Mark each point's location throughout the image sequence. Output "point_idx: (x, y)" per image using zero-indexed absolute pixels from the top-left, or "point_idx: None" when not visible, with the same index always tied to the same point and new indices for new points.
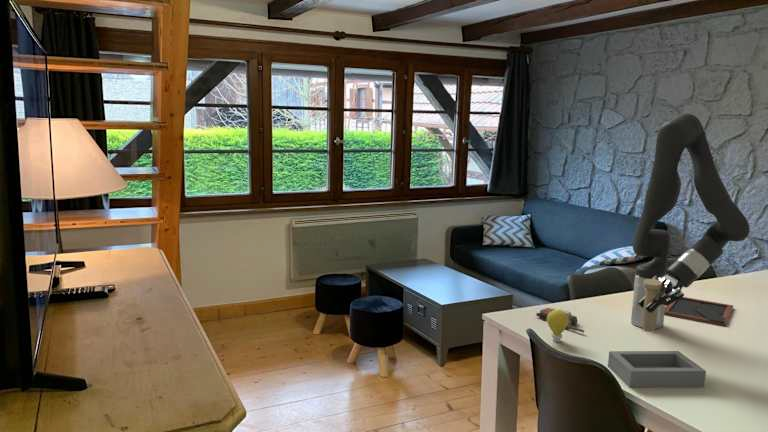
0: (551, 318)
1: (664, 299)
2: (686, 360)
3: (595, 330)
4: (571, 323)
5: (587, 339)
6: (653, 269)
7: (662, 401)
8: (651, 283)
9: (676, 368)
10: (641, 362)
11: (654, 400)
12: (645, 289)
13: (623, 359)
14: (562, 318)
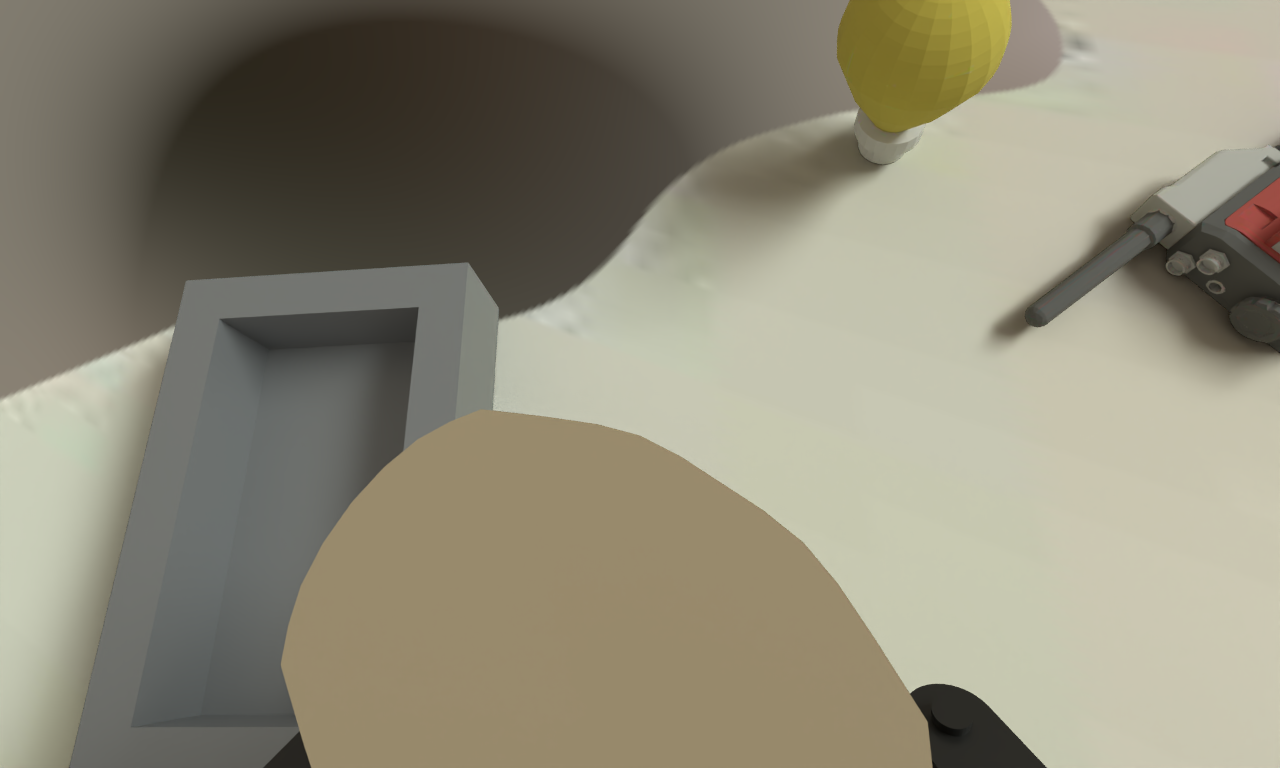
0: None
1: (292, 750)
2: (248, 746)
3: (1144, 448)
4: (1231, 296)
5: (926, 329)
6: None
7: (92, 418)
8: (454, 570)
9: (150, 580)
10: None
11: (111, 384)
12: (964, 702)
13: (339, 301)
14: (857, 19)
